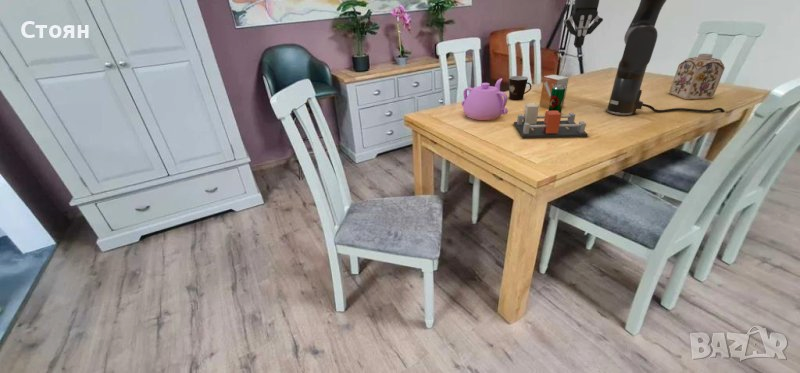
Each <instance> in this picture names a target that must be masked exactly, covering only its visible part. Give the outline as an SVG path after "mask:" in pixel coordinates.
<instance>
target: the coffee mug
mask: <svg viewBox="0 0 800 373" xmlns="http://www.w3.org/2000/svg"><path fill="white" fill-rule="evenodd" d="M528 79H529V77H527V76H524V75H513V76H512V75H511V76H509V77H508V99H509V100H510V101H513V102H515V101H517V102H518V101H522V100H524V96H525V94H527V93H529V92H530V91H531V90H532V83H530V82H528V81H529V80H528ZM527 85H529V89H528V90H526V88H527Z"/></svg>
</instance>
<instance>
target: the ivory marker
mask: <svg viewBox="0 0 800 373" xmlns="http://www.w3.org/2000/svg"><path fill="white" fill-rule="evenodd" d="M539 109H540V105H539V104H537V102H527V103H524V109H523V116H526V118H525V119H523V122H525V123H529V124H536V123H537V121H538V119H537V116H539Z"/></svg>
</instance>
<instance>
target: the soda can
mask: <svg viewBox="0 0 800 373" xmlns="http://www.w3.org/2000/svg"><path fill="white" fill-rule="evenodd" d="M565 90H566V88H565V85H563V84H555V85H554V86H553V87H552V92H551V98H550V104H549V108H548V110H547V111H558V112H559V113H561V114H562V111H563V108H562V106H563V107H564V105H563V100H564V95H565ZM566 91H567V90H566ZM565 96H566V95H565ZM564 101H565V100H564Z"/></svg>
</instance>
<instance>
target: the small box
mask: <svg viewBox="0 0 800 373" xmlns="http://www.w3.org/2000/svg"><path fill="white" fill-rule="evenodd" d="M569 79H570V78H569V77H567V76H563V75H558V74H550V75H544V76H543V81H542V87H541V94H540V99H539V107H544V108H547V109H549V104H550V98H551V92H552V87H553V86H554V85H555V84H563V85H565V88H566V90H565V95H564V100H563V106H562V109H563V108H564V105H565V100H566V94H567V90H568V83H569Z"/></svg>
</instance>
